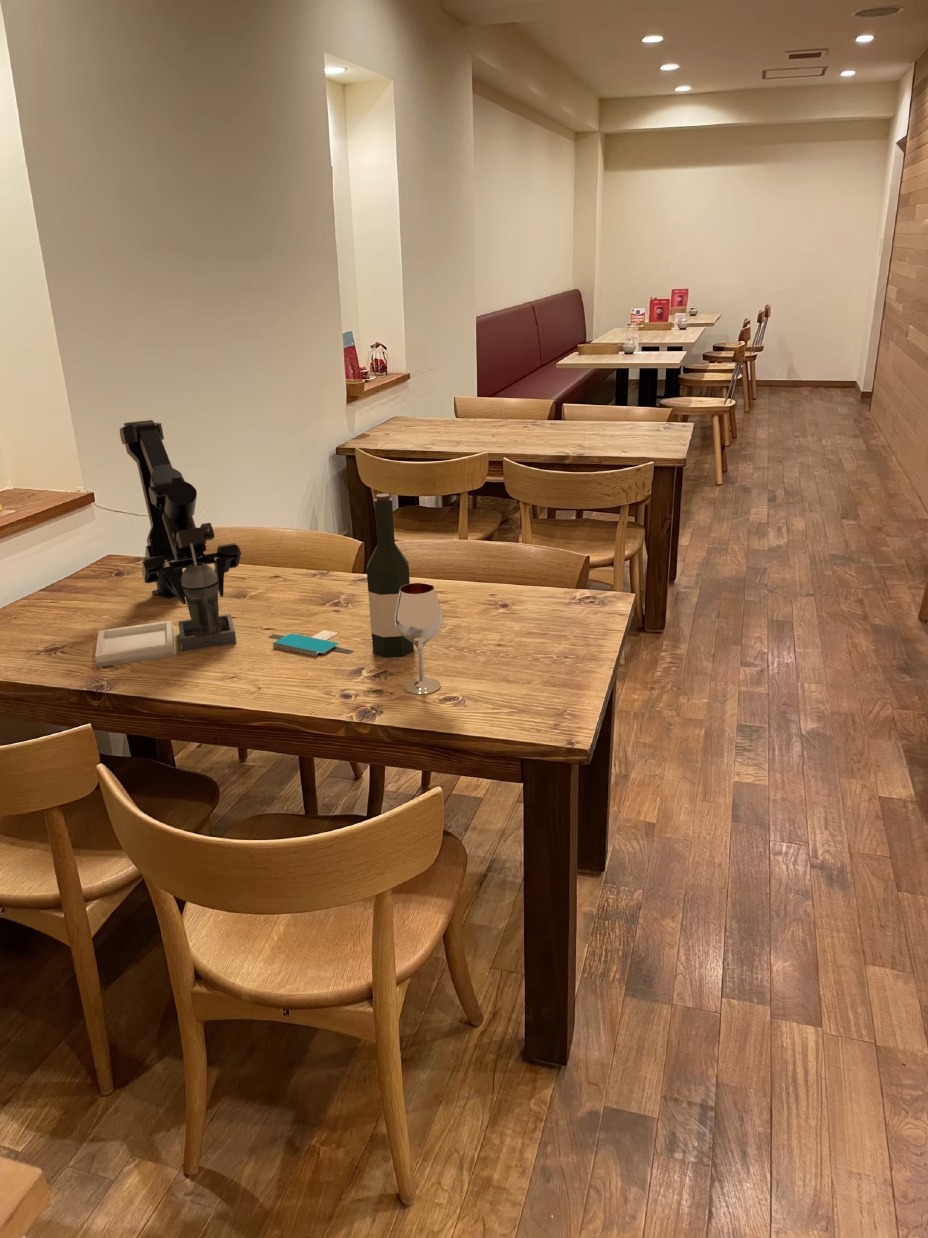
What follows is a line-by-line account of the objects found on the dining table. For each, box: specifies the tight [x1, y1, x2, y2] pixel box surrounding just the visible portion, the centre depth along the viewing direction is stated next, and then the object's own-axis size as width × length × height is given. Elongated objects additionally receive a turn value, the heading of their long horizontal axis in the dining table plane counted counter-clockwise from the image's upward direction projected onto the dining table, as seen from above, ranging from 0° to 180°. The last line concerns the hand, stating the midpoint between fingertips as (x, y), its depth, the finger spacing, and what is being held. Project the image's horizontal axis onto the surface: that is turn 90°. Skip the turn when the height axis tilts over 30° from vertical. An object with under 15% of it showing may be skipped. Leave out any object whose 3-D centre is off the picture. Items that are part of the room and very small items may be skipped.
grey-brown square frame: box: [178, 613, 237, 652], centre depth 180 cm, size 10×10×2 cm
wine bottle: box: [366, 493, 415, 659], centre depth 166 cm, size 8×8×30 cm
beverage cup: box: [181, 543, 220, 636], centre depth 177 cm, size 7×7×20 cm
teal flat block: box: [268, 629, 354, 658], centre depth 176 cm, size 20×12×2 cm, turn 60°
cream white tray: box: [94, 620, 175, 668], centre depth 176 cm, size 14×14×2 cm
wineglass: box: [394, 582, 444, 695], centre depth 152 cm, size 8×8×18 cm
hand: (203, 599), depth 176 cm, fingers closed on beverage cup, 7 cm apart
